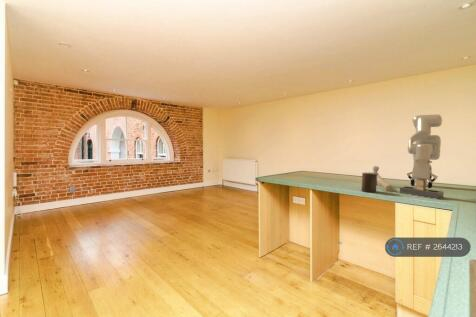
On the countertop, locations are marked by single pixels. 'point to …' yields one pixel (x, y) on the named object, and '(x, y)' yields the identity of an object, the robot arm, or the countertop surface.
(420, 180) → the peg
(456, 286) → the countertop surface
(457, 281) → the countertop surface
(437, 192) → the rail
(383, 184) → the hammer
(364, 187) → the pillar candle
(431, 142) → the robot arm
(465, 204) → the countertop surface
